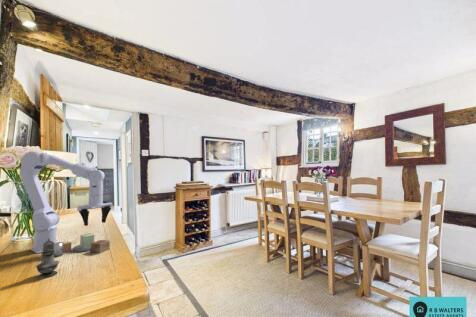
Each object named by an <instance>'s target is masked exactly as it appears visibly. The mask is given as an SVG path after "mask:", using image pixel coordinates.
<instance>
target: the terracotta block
mask: <svg viewBox="0 0 476 317" xmlns="http://www.w3.org/2000/svg"><path fill="white" fill-rule="evenodd" d="M62 242H63V253H65V252H69V251H72V242H71V241H67V240H66V241H62Z"/></svg>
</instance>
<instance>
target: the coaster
mask: <svg viewBox="0 0 476 317" xmlns="http://www.w3.org/2000/svg"><path fill="white" fill-rule="evenodd" d="M90 250H91V247H87V248H82V247H80V244H78V245H75V246H74V247H73V248H72V251H73V252H74V253H85V252H87V253H88V252H90Z"/></svg>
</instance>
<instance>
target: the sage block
mask: <svg viewBox="0 0 476 317" xmlns="http://www.w3.org/2000/svg"><path fill="white" fill-rule="evenodd" d="M79 241H80V243H79V245H80V247H82V248H87V247H91V243H93V242H95V234H94V233H91V232H90V233H85V234H80V238H79Z"/></svg>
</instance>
